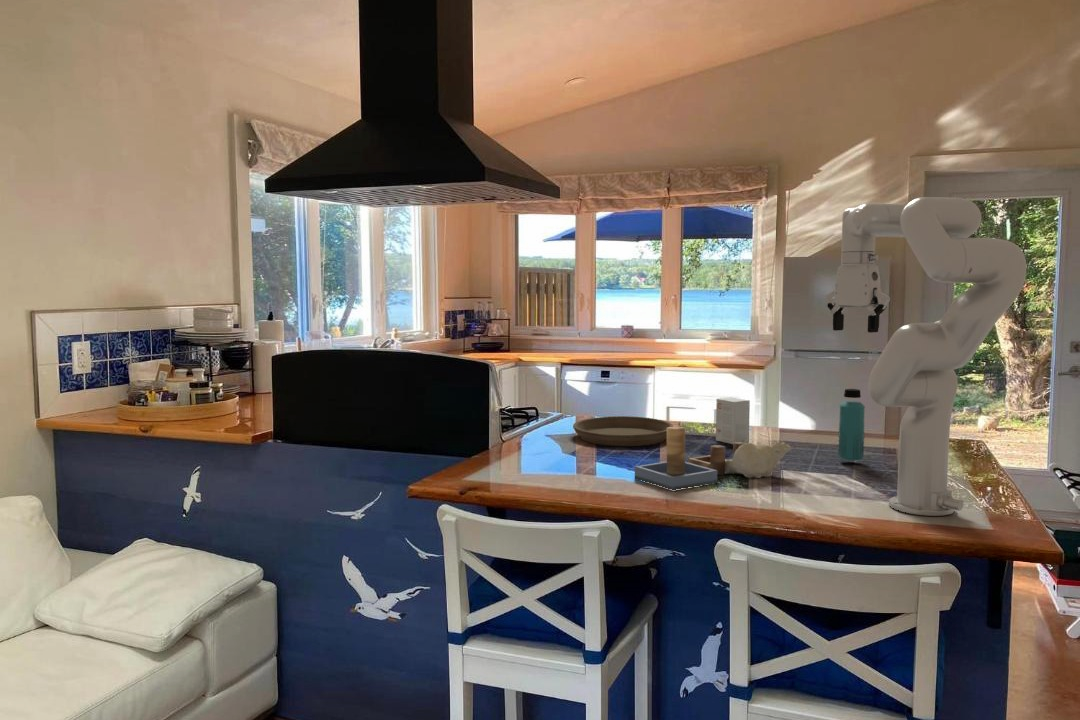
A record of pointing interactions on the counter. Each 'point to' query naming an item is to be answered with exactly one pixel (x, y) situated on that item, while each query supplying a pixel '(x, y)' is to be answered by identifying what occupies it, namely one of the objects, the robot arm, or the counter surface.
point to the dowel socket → (701, 461)
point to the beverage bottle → (851, 427)
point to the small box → (732, 420)
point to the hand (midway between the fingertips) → (855, 331)
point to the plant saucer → (622, 430)
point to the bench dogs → (720, 457)
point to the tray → (692, 476)
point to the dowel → (675, 451)
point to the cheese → (756, 459)
